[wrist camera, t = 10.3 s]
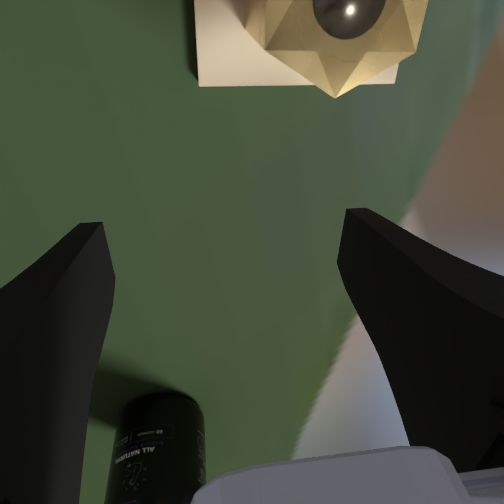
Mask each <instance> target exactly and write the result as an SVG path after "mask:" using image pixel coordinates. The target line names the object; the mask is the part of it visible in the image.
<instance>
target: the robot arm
mask: <svg viewBox="0 0 504 504" xmlns="http://www.w3.org/2000/svg"><path fill="white" fill-rule="evenodd" d="M337 265H338V268H339V271H340V274H341V277H342V280H343V283H344V286H345V289H346V291H347V293H348V295H349V297H350V299H351V301H352V303H353V305H354V307H355V309H356V311H357V313H358V315H359V317H360V319H361V321H362V323H363V325H364V327H365V329H366V331H367V332H368V334H369V336H370V338H371V340H372V342H373V344H374V346H375V348H376V351H377V353H378V355H379V357H380V360H381V362H382V365H383V368H384V370H385V373H386V376H387V378H388V381H389V383H390V386H391V389H392V392H393V395H394V398H395V400H396V403H397V406H398V409H399V412H400V415H401V418H402V421H403V425H404V428H405V431H406V434H407V437H408V441H409V444H410V446H396V447H388V448H381V449H373V450H366V451H358V452H351V453H343V454H335V455H327V456H320V457H312V458H304V459H297V460H289V461H281V462H274V463H266V464H258V465H252V466H249V467H245V468H241V469H237V470H234V471H230V472H226V473H223V474H221V475H219V476H218V477H216V478H215V479H213V480H212V481H210V482H208V483H207V484H205V485H204V486H202V487H201V488H200V489H199V490H198V491H197V492H196V493H195V494H194V497H193V499H192V502H191V504H504V276H502V275H499V274H496V273H493V272H491V271H488V270H486V269H483V268H481V267H478V266H476V265H474V264H471V263H469V262H467V261H464V260H462V259H460V258H458V257H455V256H453V255H451V254H449V253H447V252H445V251H443V250H441V249H439V248H437V247H435V246H433V245H432V244H430V243H428V242H426V241H424V240H422V239H420V238H419V237H417V236H415V235H413V234H412V233H410V232H408V231H407V230H405V229H403V228H401V227H400V226H398V225H396V224H395V223H393V222H391V221H389V220H388V219H386V218H384V217H383V216H381V215H379V214H377V213H375V212H373V211H371V210H369V209H367V208H353V209H346V214H345V219H344V225H343V230H342V236H341V242H340V247H339V253H338V259H337ZM114 288H115V274H114V270H113V266H112V261H111V257H110V253H109V248H108V244H107V240H106V235H105V231H104V227H103V222H92V223H80V224H78V225H77V226H76V227H75V228H73V229H72V230H71V231H70V232H69V233H68V234H67V235H65V236H64V237H63V238H62V239H61V240H60V241H59V242H58V243H56V244H55V245H54V246H53V247H52V248H51V249H50V250H48V251H47V252H46V253H45V254H44V255H43V256H42V257H40V258H39V259H38V260H37V261H36V262H34V263H33V264H32V265H31V266H29V267H28V268H27V269H26V270H24V271H23V272H22V273H20V274H19V275H18V276H17V277H15V278H14V279H13V280H12V281H10V282H9V283H8V284H6V285H5V286H3V287H2V288H1V289H0V504H79V496H80V486H81V476H82V466H83V456H84V448H85V440H86V431H87V423H88V416H89V408H90V401H91V394H92V387H93V383H94V378H95V373H96V369H97V365H98V361H99V358H100V354H101V350H102V346H103V342H104V338H105V335H106V331H107V327H108V323H109V319H110V315H111V311H112V306H113V297H114Z"/></svg>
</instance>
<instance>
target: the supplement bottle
mask: <svg viewBox="0 0 504 504" xmlns="http://www.w3.org/2000/svg"><path fill="white" fill-rule="evenodd" d="M205 484H206V457H205V426H204V416H203V413H202V411H201V409H200V408H199V407H198V406H197V405H196V404H195V403H194V402H193V401H191V400H189V399H187V398H185V397H182V396H178V395H173V394H155V395H149V396H145V397H142V398H140V399H137V400H135V401H134V402H132V403H130V404H129V405H128V406H127V407H126V408H125V409H124V410H123V411H122V412H121V414H120V416H119V418H118V422H117V428H116V433H115V439H114V445H113V452H112V458H111V464H110V470H109V477H108V483H107V489H106V495H105V502H104V504H191V502H192V499H193V497H194V494H195V493H196V492H197V491H198V490H199V489H200V488H201V487H202V486H204V485H205Z"/></svg>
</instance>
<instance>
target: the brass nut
mask: <svg viewBox="0 0 504 504" xmlns="http://www.w3.org/2000/svg"><path fill="white" fill-rule="evenodd" d="M427 3H428V0H245V30H246V31H247V32H248V33H249V34H250V35H251V36H252V38H253V39H254V40H255V41H256V42H257V43H258V44H259V45H260V46H261V47H262V48H263V49H264V50H265V51H266V52H268V53H269V54H271V55H272V56H273V57H275V58H276V59H278V60H279V61H281V62H282V63H284V64H285V65H287V66H288V67H290V68H291V69H293V70H294V71H296V72H297V73H298V74H300V75H301V76H303V77H304V78H306V79H307V80H309V81H310V82H312V83H313V84H315V85H316V86H318V87H319V88H320V89H322V90H323V91H325V92H326V93H328V94H329V95H331V96H332V97H334V98H337V97H338V96H340V95H342V94H344V93H345V92H347V91H349V90H351V89H352V88H354V87H356V86H358V85H359V84H361V83H363V82H365V81H366V80H368V79H370V78H372V77H373V76H375V75H377V74H379V73H380V72H382V71H384V70H386V69H387V68H389V67H391V66H393V65H394V64H396V63H398V62H400V61H401V60H403V59H405V58H407V57H408V56H410V55H412V54H414V53H415V52H416V48H417V44H418V40H419V36H420V32H421V28H422V24H423V20H424V16H425V11H426V7H427Z"/></svg>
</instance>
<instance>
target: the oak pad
mask: <svg viewBox="0 0 504 504" xmlns="http://www.w3.org/2000/svg"><path fill="white" fill-rule="evenodd" d="M194 10H195V28H196V46H197V64H198V82H199V86H268V85H315V84H313V83H312V82H310V81H309V80H307V79H306V78H304V77H303V76H301V75H300V74H298V73H297V72H296V71H294V70H293V69H291V68H290V67H288V66H287V65H285V64H284V63H282V62H281V61H279V60H278V59H276V58H275V57H273V56H272V55H271V54H269V53H268V52H266V51H265V50H264V49H263V48H262V47H261V46H260V45H259V44H258V43H257V42H256V41H255V40H254V39H253V38H252V36H251V35H250V34H249V33H248V32H247V31H246V30H245V0H194ZM398 64H399V62H398V63H396V64H394V65H393V66H391V67H389V68H387V69H386V70H384V71H382V72H380V73H379V74H377V75H375V76H373V77H372V78H370V79H368V80H366V81H365V82H363V83H361V84H394V83H395V78H396V74H397V69H398Z"/></svg>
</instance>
